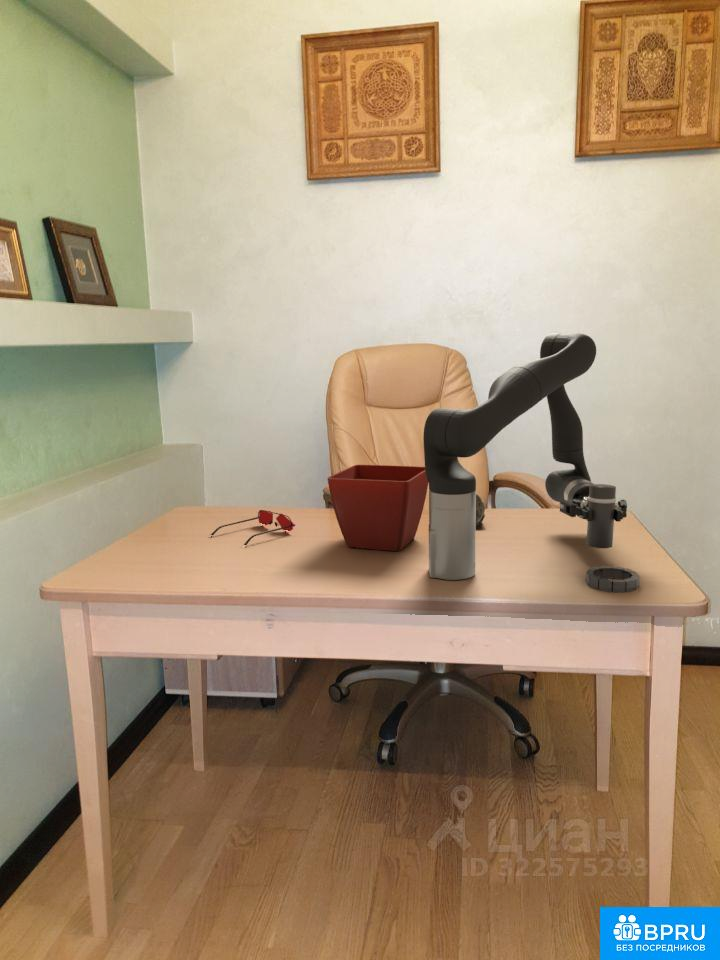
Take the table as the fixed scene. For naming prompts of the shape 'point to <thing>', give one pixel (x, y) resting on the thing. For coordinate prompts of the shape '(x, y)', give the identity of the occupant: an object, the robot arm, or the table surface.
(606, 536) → the dark grey canister
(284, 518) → the glasses
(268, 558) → the table surface
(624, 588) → the block ring
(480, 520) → the fossil
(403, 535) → the plant pot
